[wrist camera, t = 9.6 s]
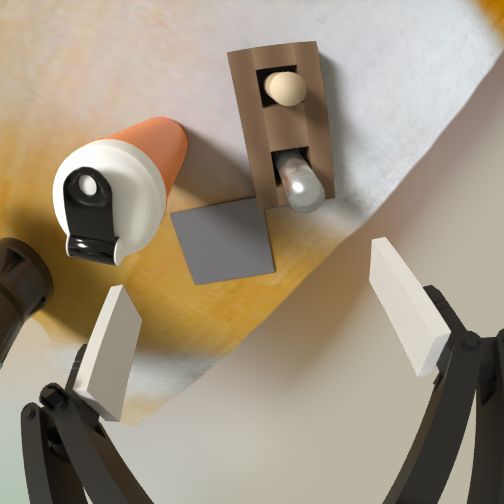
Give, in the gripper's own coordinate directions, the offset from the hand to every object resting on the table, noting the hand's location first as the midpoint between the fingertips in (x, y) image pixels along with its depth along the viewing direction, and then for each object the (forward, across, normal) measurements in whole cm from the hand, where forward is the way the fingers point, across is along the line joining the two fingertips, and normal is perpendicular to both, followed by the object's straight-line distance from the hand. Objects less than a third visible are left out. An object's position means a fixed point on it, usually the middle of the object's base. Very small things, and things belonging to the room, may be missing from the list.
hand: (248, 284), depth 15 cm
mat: (+24, -4, -12) cm, 27 cm away
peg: (+24, +6, -1) cm, 24 cm away
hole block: (+24, +6, +3) cm, 24 cm away
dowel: (+24, +6, +8) cm, 25 cm away
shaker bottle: (+24, -9, +4) cm, 26 cm away
